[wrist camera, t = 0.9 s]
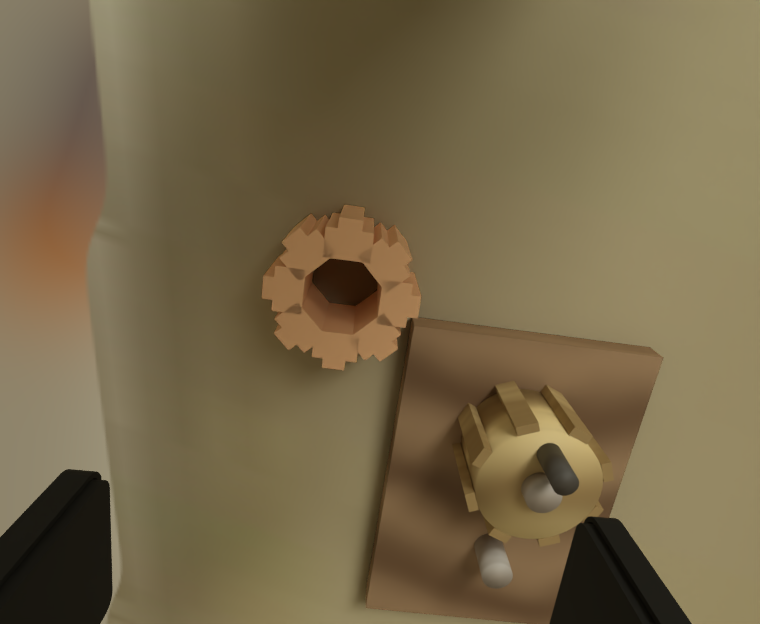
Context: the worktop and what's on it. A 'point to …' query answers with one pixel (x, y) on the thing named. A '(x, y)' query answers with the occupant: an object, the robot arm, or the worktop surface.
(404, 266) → the terracotta gear
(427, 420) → the gear board
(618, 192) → the worktop surface
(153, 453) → the worktop surface
